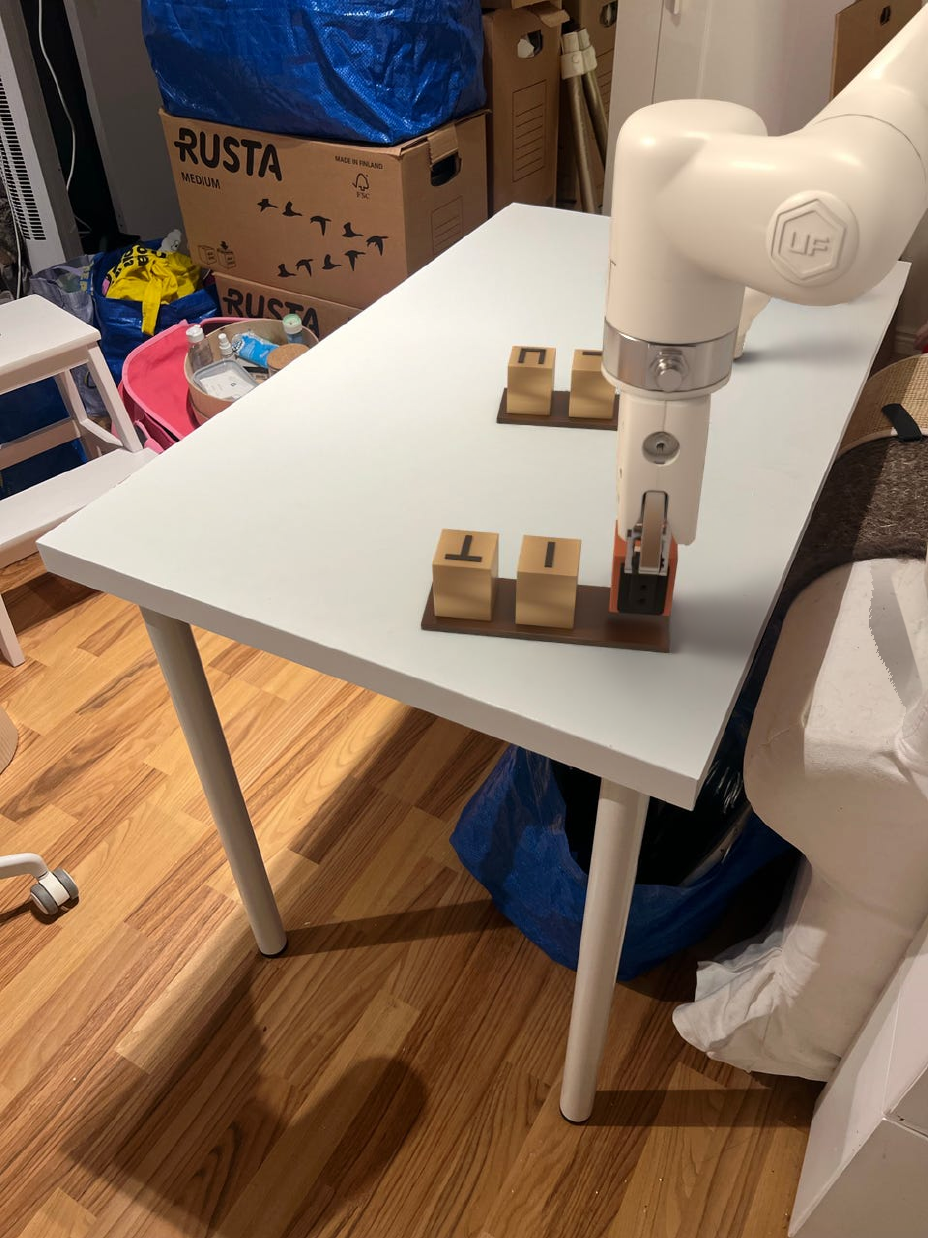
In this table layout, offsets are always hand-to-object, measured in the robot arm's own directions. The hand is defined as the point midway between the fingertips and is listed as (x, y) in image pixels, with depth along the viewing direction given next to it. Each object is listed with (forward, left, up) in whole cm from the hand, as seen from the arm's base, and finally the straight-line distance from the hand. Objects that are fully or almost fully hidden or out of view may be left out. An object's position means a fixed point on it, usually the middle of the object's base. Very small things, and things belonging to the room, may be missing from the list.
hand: (640, 586), depth 65 cm
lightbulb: (-32, -30, -4) cm, 44 cm away
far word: (-13, -27, -4) cm, 31 cm away
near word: (+5, -4, -4) cm, 8 cm away
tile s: (0, 0, -1) cm, 1 cm away
